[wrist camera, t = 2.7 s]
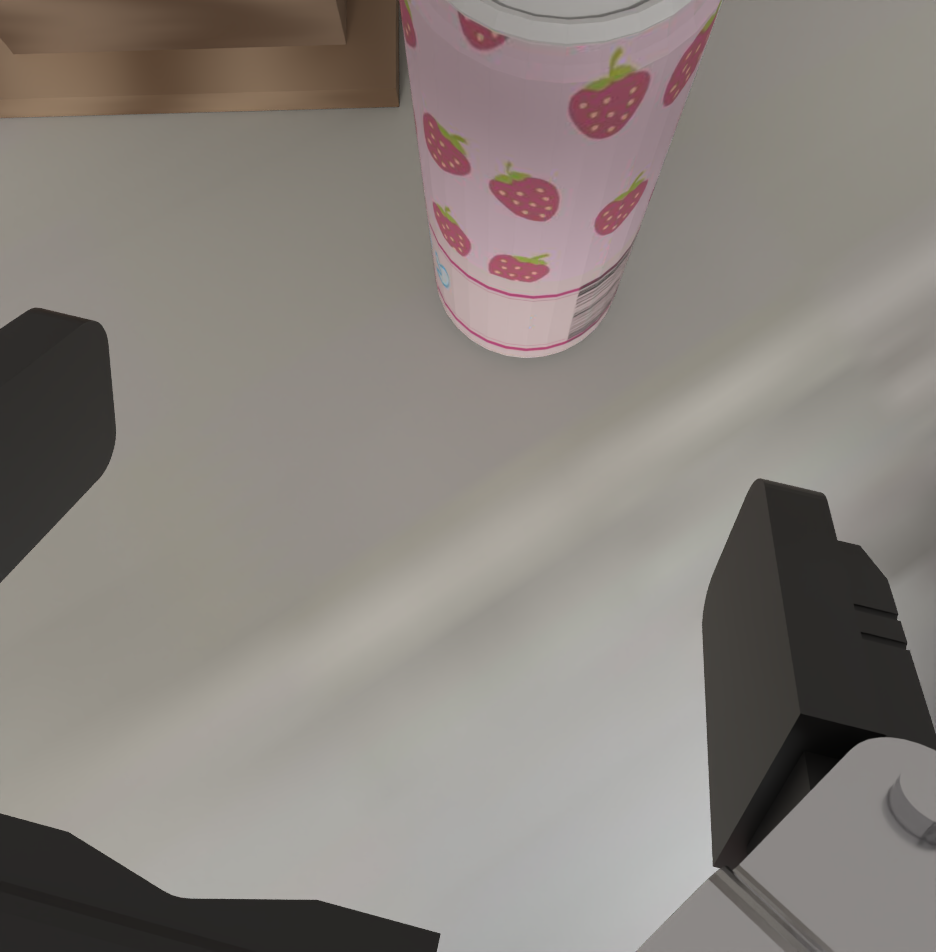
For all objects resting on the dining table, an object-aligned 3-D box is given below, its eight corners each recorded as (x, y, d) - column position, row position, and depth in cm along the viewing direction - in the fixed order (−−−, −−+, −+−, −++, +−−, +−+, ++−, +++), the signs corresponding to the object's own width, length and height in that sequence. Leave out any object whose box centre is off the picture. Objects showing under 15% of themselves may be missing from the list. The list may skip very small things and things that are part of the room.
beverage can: (446, 184, 29) (406, -295, 14) (623, 200, 28) (771, -269, 14) (426, 352, 28) (358, 26, 13) (608, 370, 27) (750, 59, 13)
